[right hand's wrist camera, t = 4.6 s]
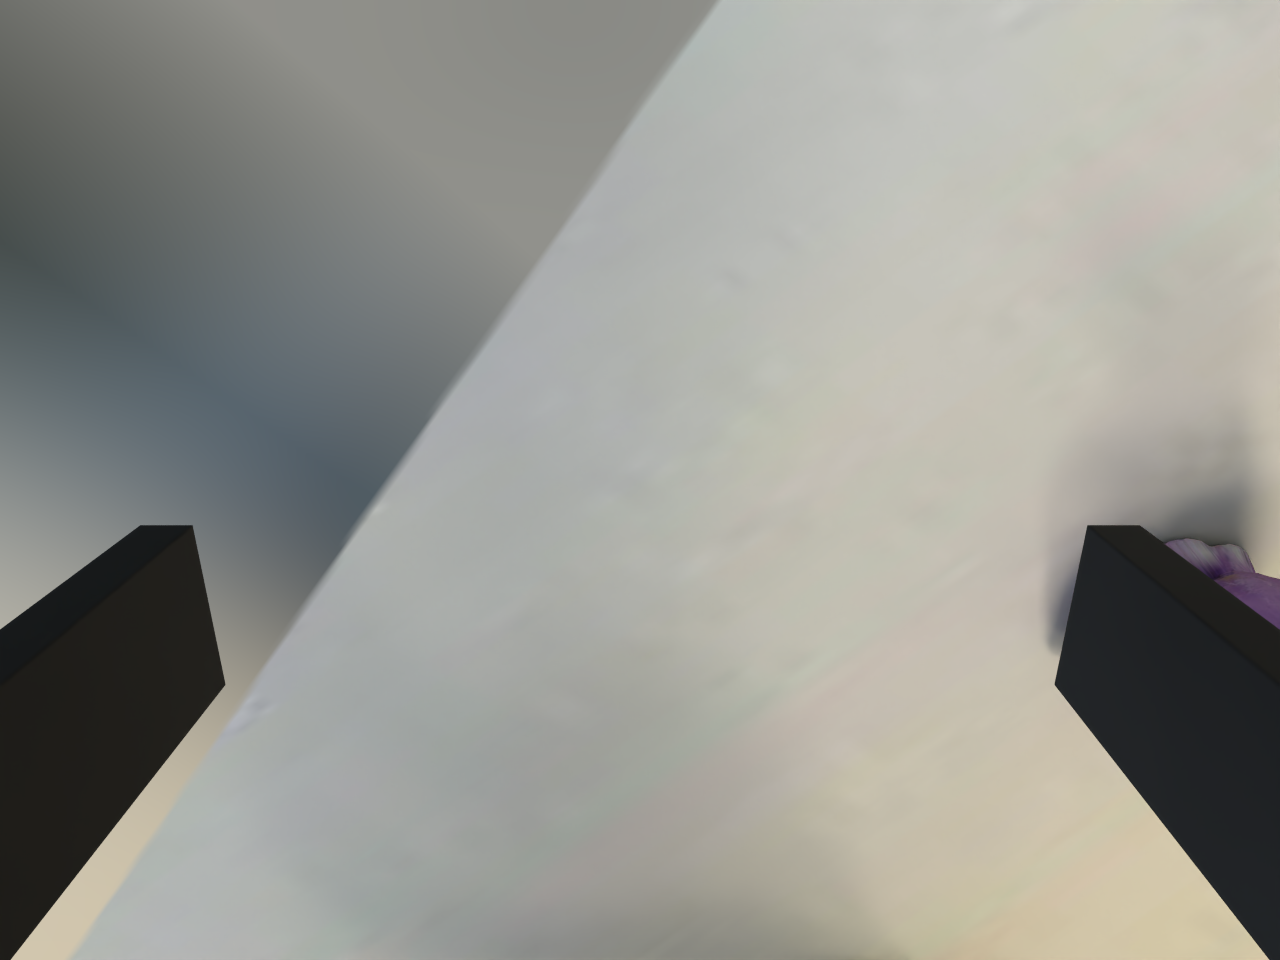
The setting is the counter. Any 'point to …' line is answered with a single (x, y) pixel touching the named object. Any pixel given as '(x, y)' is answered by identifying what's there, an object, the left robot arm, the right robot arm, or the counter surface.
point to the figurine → (1234, 575)
